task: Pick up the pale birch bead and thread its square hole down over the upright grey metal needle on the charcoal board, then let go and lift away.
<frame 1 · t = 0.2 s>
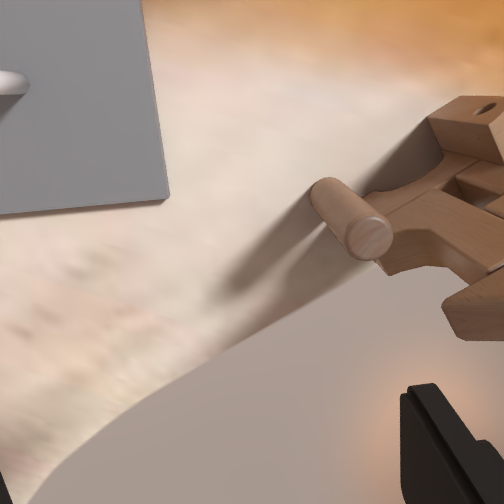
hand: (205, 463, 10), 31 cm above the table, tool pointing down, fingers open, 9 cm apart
needle stand: (25, 83, 36), on the table
wooden toy: (396, 173, 40), on the table
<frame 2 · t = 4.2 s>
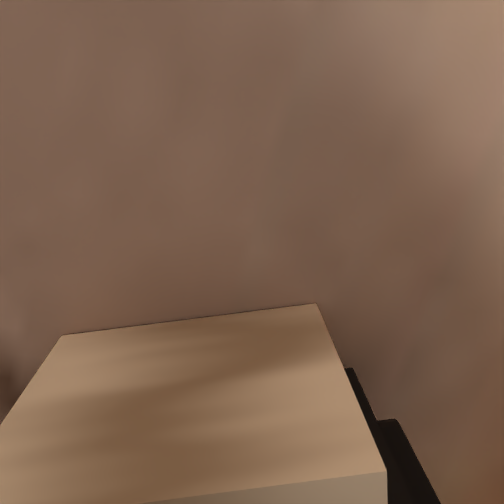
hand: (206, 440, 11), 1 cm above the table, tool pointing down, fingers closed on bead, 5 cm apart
bead: (208, 423, 12), on the table, touching gripper
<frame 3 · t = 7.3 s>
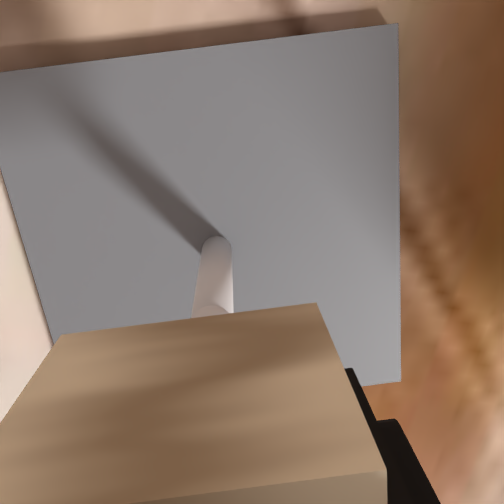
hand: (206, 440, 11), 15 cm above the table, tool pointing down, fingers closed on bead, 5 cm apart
needle stand: (217, 243, 26), on the table
bead: (207, 422, 12), point 15 cm above the table, touching gripper
when the fingers open (6 cm above the table, at t = 10.9 s): bead drops 4 cm, resting on needle stand.
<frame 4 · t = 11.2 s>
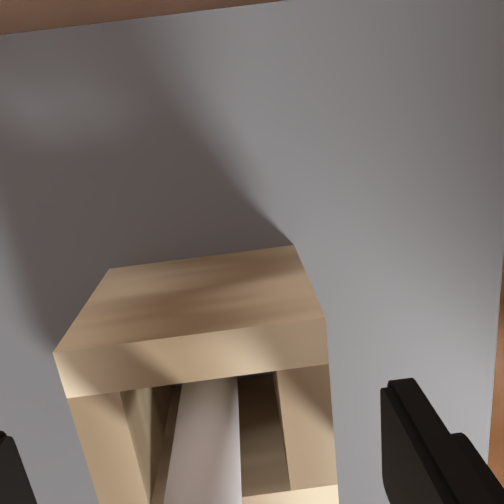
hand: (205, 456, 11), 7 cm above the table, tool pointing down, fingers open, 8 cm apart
needle stand: (213, 321, 17), on the table
bead: (215, 337, 16), point 1 cm above the table, touching needle stand
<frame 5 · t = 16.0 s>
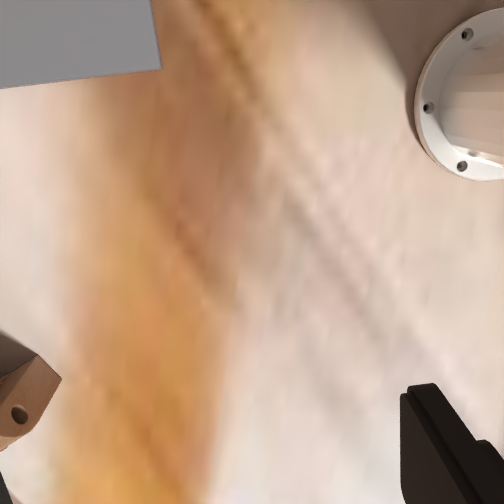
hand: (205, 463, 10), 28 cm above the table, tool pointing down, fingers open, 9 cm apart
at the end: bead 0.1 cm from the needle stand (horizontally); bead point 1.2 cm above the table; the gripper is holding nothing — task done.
